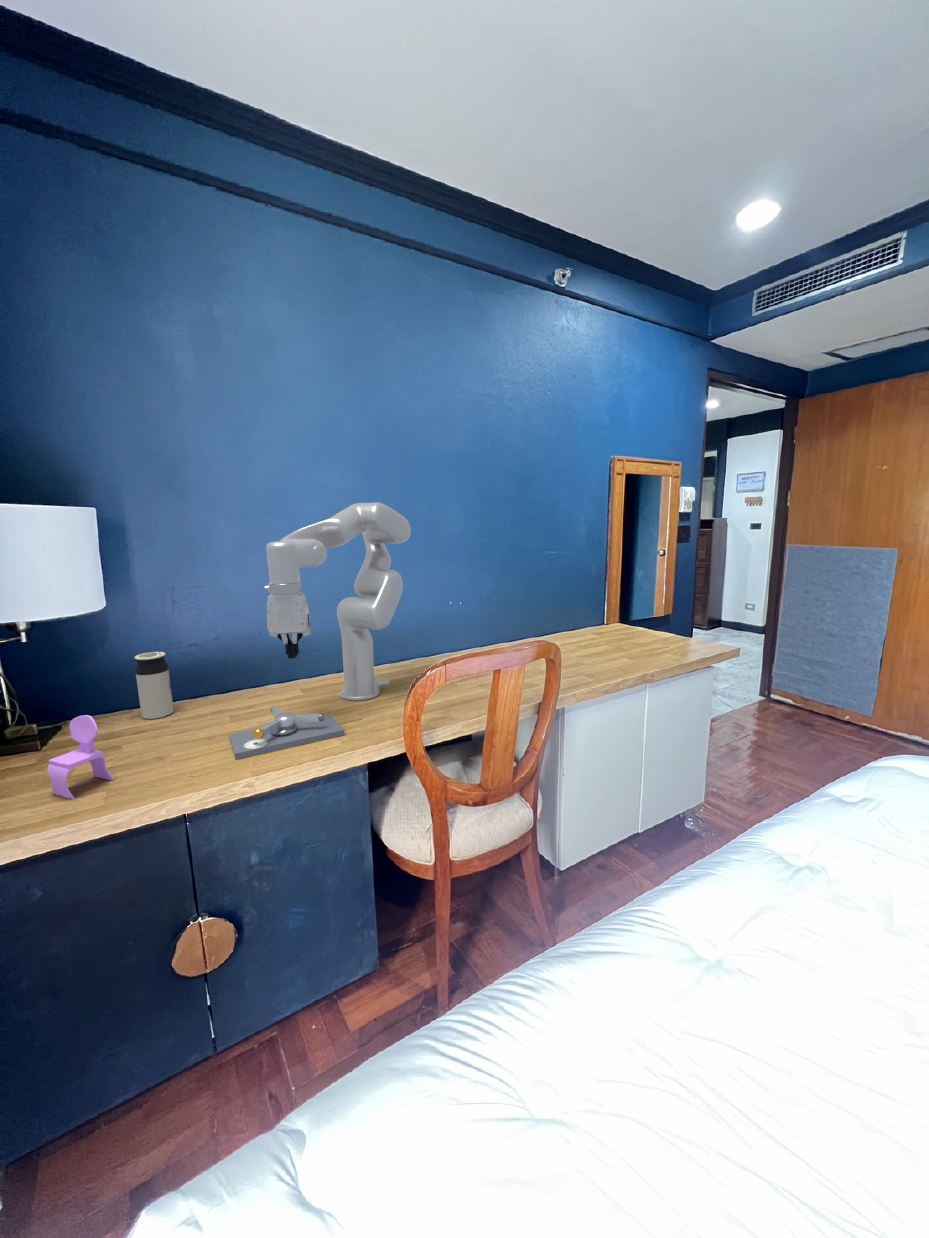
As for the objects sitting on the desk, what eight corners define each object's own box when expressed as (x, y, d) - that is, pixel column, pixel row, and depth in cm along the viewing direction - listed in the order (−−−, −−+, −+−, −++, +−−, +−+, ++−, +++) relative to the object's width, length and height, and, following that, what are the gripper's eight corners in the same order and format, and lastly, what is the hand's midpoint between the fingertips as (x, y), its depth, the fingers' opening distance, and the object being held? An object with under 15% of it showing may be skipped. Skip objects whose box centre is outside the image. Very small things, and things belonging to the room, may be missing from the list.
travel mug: (139, 721, 140) (130, 659, 136) (144, 712, 147) (136, 653, 143) (172, 717, 143) (164, 656, 139) (175, 708, 150) (167, 650, 147)
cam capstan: (274, 717, 136) (273, 703, 136) (327, 726, 130) (326, 711, 129) (227, 741, 122) (226, 725, 121) (284, 752, 116) (283, 735, 115)
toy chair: (47, 794, 102) (34, 725, 99) (92, 774, 110) (81, 710, 107) (73, 801, 99) (61, 731, 96) (117, 780, 107) (107, 715, 104)
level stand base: (330, 718, 140) (330, 713, 140) (344, 735, 129) (344, 728, 129) (229, 739, 127) (228, 733, 127) (235, 759, 116) (234, 752, 116)
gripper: (251, 592, 125) (259, 662, 129) (311, 590, 125) (317, 660, 129) (261, 588, 132) (269, 654, 136) (318, 586, 133) (324, 652, 137)
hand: (293, 657), depth 133 cm, fingers closed
